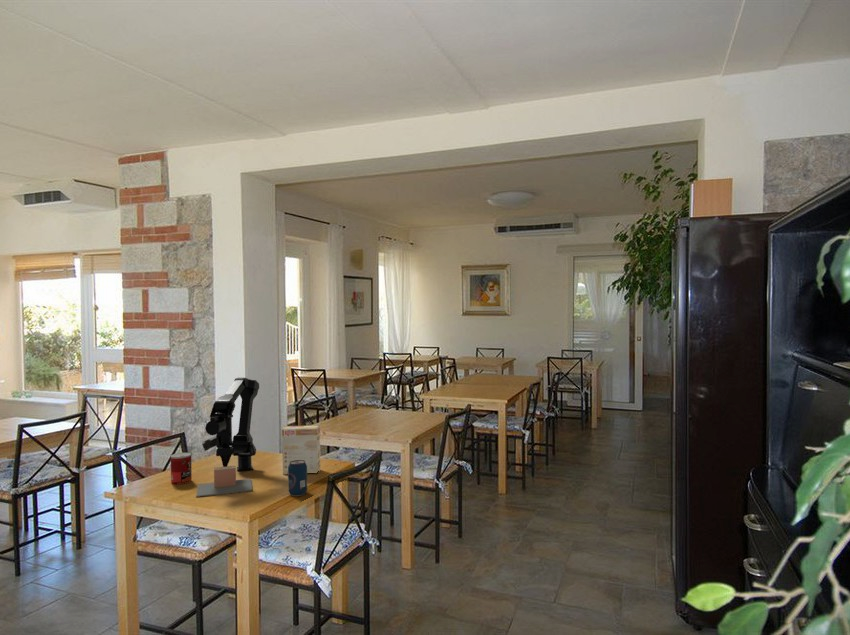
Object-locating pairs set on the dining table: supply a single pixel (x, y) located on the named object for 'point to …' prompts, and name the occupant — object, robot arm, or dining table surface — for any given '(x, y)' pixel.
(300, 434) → the coffeecake box
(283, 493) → the dining table surface
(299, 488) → the soda can
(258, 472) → the dining table surface
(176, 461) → the canned food
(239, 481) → the mat
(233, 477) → the slab
